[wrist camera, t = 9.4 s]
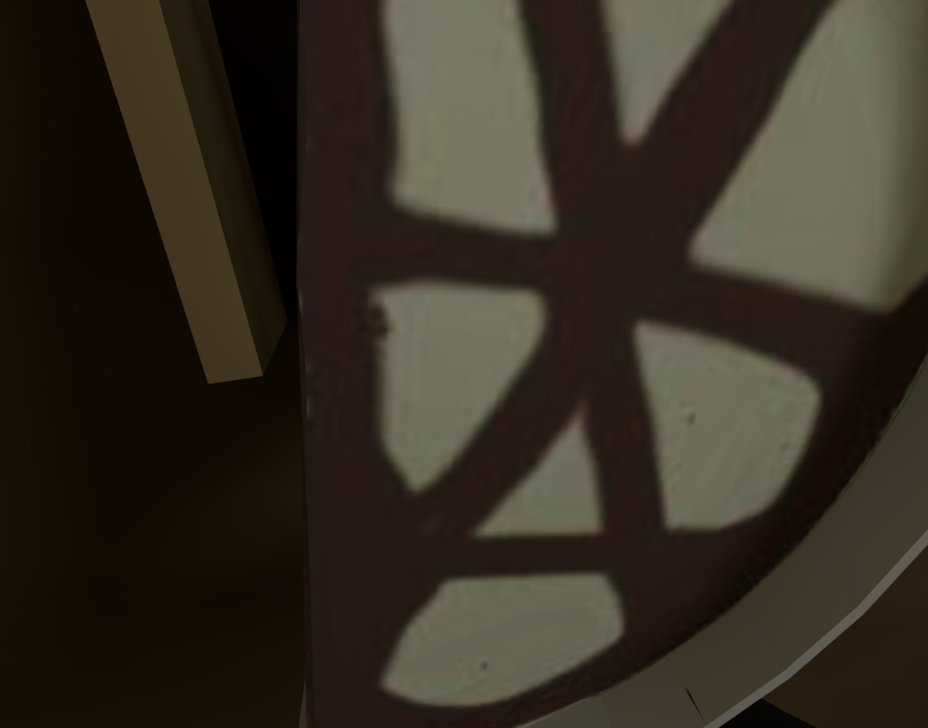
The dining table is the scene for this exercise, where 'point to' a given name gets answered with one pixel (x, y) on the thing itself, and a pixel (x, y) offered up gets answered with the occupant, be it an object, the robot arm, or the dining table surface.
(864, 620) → the dining table surface
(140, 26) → the open u-shaped wooden frame
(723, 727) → the robot arm
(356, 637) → the food container
